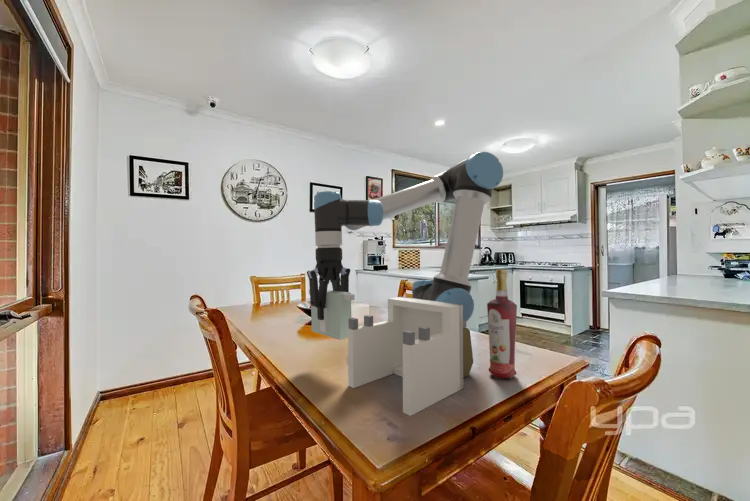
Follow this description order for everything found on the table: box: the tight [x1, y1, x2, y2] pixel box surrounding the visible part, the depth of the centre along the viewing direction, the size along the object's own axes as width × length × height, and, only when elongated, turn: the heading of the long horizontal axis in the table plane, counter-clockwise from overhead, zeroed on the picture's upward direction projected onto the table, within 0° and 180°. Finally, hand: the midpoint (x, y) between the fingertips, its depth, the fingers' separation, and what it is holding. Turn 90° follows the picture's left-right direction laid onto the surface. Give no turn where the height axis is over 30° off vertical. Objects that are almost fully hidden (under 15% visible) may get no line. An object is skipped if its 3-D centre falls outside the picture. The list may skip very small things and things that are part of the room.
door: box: [308, 289, 356, 341], centre depth 90 cm, size 4×20×12 cm, turn 43°
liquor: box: [486, 269, 518, 380], centre depth 84 cm, size 7×7×28 cm
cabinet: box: [347, 296, 464, 417], centre depth 77 cm, size 19×20×20 cm
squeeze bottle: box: [463, 320, 474, 378], centre depth 86 cm, size 8×8×18 cm
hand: (330, 329), depth 90 cm, fingers closed on door, 4 cm apart
